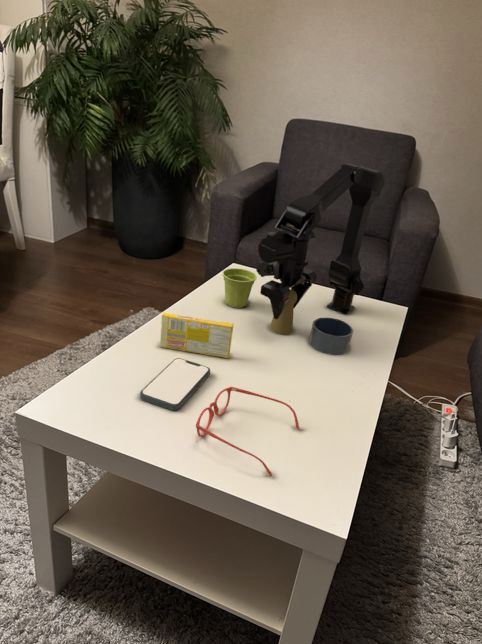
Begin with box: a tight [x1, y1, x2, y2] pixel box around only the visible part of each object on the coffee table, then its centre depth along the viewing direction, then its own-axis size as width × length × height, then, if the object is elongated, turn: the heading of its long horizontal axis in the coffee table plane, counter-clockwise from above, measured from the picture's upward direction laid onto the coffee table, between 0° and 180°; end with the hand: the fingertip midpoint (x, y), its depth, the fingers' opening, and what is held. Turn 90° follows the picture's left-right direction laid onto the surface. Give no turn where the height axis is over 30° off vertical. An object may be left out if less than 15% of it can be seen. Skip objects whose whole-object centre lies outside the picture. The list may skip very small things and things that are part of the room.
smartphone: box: [139, 357, 211, 411], centre depth 111 cm, size 9×2×16 cm
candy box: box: [159, 312, 234, 359], centre depth 122 cm, size 16×2×8 cm, turn 84°
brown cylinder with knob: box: [269, 288, 297, 336], centre depth 138 cm, size 6×6×11 cm
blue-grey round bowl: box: [308, 317, 354, 355], centre depth 135 cm, size 10×10×5 cm
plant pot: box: [221, 267, 258, 309], centre depth 148 cm, size 9×9×9 cm
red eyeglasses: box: [195, 386, 300, 476], centre depth 99 cm, size 17×16×5 cm
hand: (284, 313), depth 138 cm, fingers open, 8 cm apart
